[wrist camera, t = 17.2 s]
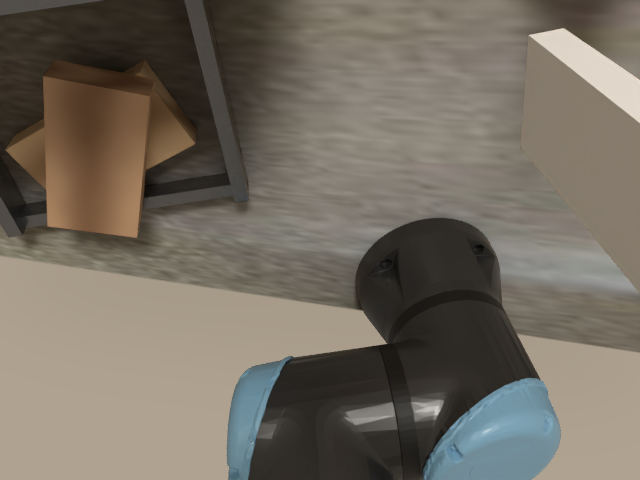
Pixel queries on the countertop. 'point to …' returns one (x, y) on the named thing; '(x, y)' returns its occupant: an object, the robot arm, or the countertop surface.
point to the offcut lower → (164, 137)
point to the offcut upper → (95, 147)
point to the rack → (15, 215)
